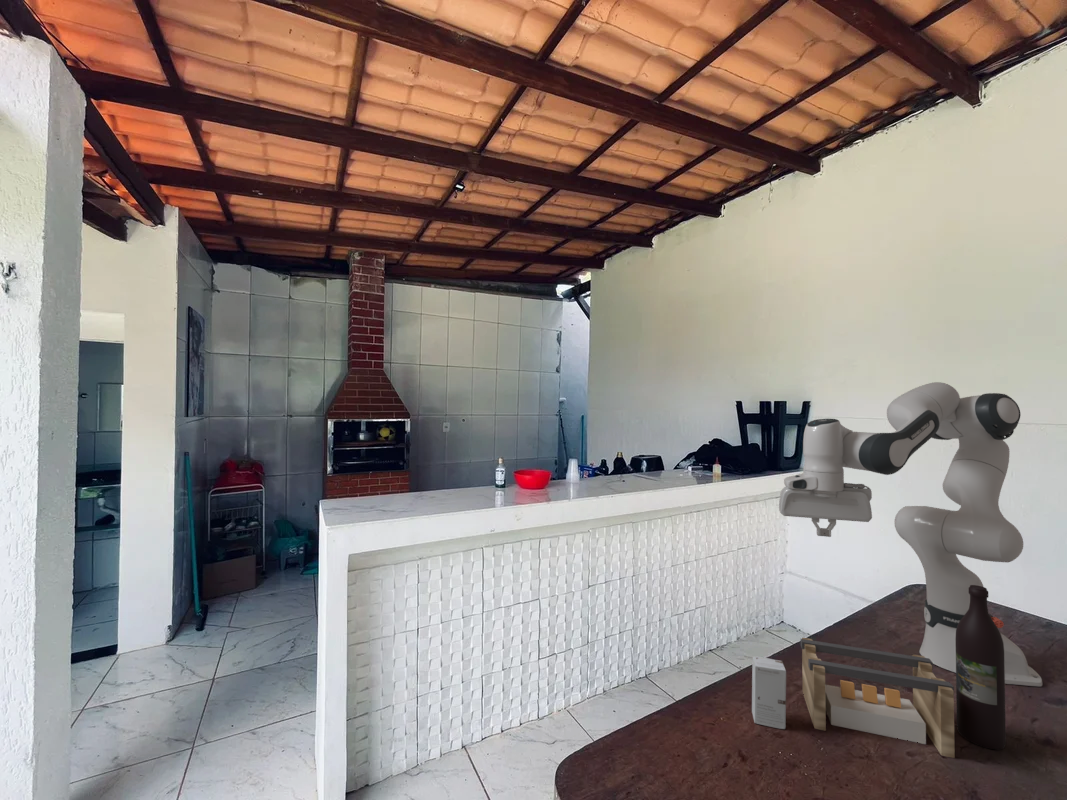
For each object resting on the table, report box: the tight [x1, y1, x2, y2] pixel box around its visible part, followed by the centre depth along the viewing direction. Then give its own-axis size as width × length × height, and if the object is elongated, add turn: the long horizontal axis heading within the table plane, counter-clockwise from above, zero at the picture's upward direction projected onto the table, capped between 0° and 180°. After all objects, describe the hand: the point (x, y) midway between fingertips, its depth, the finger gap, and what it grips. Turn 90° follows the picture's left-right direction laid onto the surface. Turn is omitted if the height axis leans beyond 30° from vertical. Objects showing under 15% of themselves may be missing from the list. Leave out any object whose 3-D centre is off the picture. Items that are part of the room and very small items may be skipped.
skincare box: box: [751, 655, 787, 730], centre depth 98 cm, size 6×4×12 cm
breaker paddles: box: [839, 679, 901, 708], centre depth 98 cm, size 10×1×3 cm, turn 69°
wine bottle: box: [955, 585, 1007, 750], centre depth 93 cm, size 7×7×30 cm
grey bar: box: [808, 659, 955, 692], centre depth 94 cm, size 24×2×2 cm, turn 69°
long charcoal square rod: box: [800, 638, 934, 671], centre depth 102 cm, size 24×2×2 cm, turn 69°
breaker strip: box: [825, 684, 927, 745], centre depth 98 cm, size 16×8×4 cm, turn 69°
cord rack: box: [801, 637, 956, 759], centre depth 98 cm, size 23×13×13 cm, turn 69°
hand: (823, 535), depth 119 cm, fingers closed
